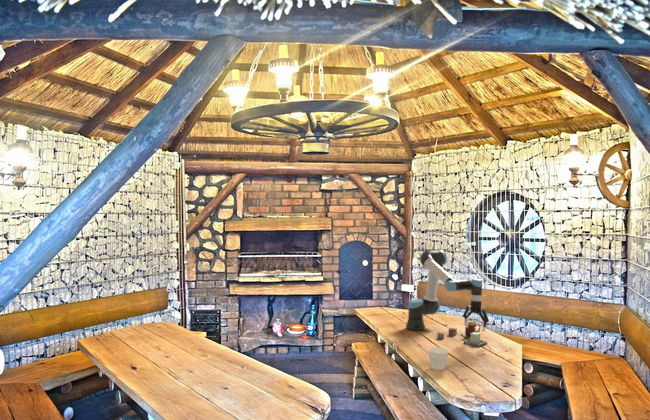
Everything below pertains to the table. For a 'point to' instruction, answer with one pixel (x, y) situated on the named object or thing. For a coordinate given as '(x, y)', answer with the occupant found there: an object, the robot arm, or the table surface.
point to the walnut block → (452, 331)
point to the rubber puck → (440, 335)
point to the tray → (475, 343)
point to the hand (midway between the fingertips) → (475, 329)
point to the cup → (438, 357)
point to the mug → (471, 328)
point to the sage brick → (475, 338)
